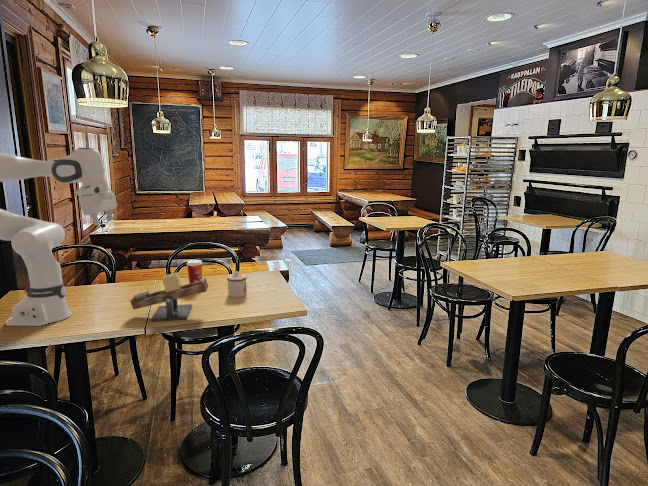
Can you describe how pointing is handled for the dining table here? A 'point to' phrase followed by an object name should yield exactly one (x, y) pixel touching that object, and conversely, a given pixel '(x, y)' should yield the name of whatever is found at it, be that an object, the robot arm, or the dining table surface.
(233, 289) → the teacup with lid
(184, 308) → the stand
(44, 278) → the robot arm
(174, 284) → the rider
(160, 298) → the beam
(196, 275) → the paper cup
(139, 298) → the counterweight
